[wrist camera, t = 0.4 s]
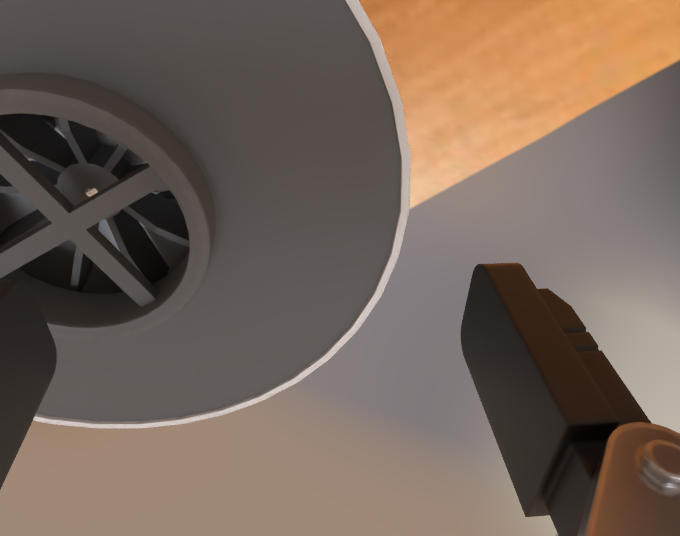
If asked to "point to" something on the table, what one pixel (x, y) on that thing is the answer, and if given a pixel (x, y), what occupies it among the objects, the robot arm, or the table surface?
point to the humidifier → (196, 195)
